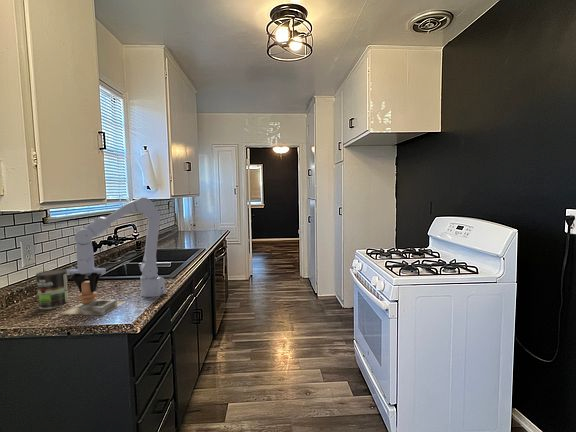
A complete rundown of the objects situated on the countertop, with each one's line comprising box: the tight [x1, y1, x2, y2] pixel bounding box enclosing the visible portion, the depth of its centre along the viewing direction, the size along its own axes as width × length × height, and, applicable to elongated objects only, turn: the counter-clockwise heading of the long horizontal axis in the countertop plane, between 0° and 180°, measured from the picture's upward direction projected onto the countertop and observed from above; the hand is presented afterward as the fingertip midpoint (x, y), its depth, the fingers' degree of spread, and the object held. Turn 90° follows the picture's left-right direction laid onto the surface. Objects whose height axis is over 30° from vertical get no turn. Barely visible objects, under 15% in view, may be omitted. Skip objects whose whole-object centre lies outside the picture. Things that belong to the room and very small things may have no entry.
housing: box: [59, 298, 126, 316], centre depth 127 cm, size 18×14×4 cm
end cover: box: [77, 280, 99, 304], centre depth 129 cm, size 7×7×8 cm
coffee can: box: [35, 268, 69, 310], centre depth 134 cm, size 10×10×14 cm
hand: (88, 291), depth 130 cm, fingers closed on end cover, 4 cm apart
